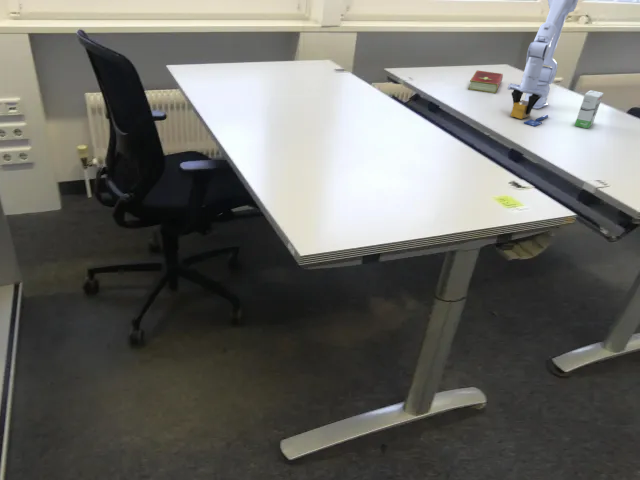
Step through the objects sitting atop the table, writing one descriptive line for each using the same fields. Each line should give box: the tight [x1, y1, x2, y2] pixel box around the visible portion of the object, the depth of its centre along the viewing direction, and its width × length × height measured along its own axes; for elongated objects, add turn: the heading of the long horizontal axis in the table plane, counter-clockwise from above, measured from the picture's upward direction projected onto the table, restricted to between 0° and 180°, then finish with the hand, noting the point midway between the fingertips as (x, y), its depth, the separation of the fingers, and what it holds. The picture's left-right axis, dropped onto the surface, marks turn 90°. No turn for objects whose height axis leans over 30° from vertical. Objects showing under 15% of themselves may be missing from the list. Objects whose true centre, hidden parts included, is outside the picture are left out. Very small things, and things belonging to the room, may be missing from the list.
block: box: [510, 99, 532, 120], centre depth 212 cm, size 7×4×5 cm, turn 133°
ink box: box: [574, 90, 604, 129], centre depth 205 cm, size 9×5×12 cm, turn 142°
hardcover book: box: [467, 70, 504, 94], centre depth 249 cm, size 12×21×4 cm, turn 155°
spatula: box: [523, 114, 549, 127], centre depth 209 cm, size 15×4×1 cm, turn 133°
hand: (521, 112), depth 212 cm, fingers closed on block, 4 cm apart
